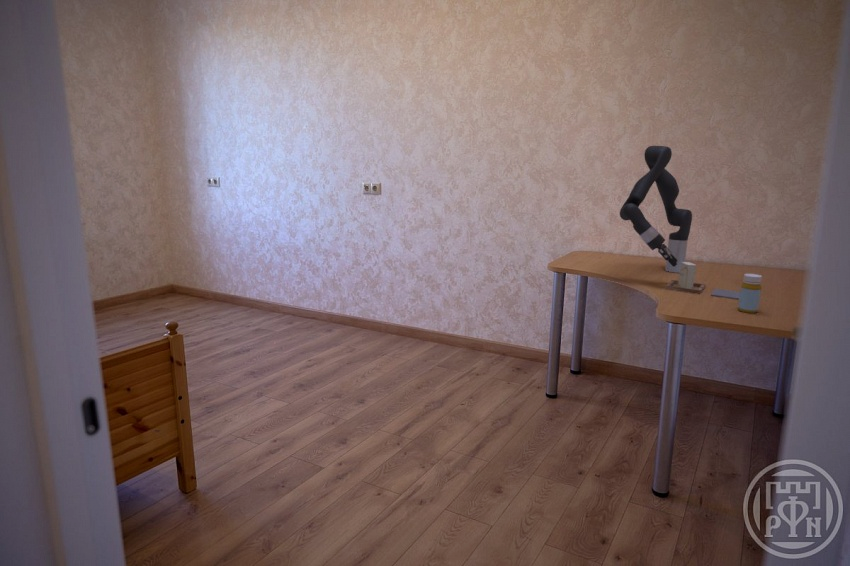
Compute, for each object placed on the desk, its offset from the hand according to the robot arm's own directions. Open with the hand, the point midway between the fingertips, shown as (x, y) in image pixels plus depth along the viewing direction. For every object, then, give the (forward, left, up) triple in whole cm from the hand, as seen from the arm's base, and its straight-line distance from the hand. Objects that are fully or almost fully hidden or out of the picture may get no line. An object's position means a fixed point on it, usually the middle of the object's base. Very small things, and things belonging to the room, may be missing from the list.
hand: (675, 263), depth 264 cm
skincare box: (-1, +5, -12) cm, 13 cm away
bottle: (+24, +33, -12) cm, 43 cm away
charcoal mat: (0, +23, -11) cm, 26 cm away
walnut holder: (-1, +5, -11) cm, 13 cm away
